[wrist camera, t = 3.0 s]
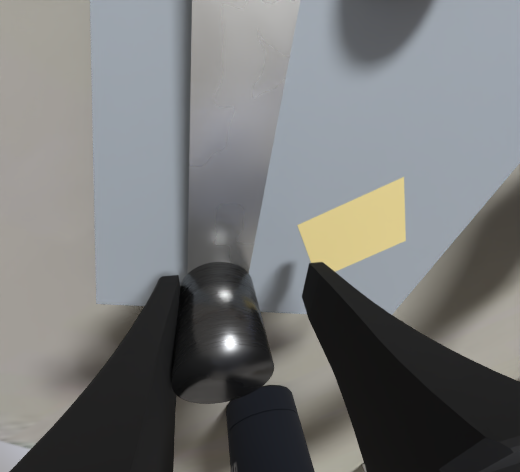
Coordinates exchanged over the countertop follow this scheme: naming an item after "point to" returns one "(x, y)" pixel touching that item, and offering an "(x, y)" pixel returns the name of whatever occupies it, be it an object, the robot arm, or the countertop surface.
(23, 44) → the countertop surface
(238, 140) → the lever
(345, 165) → the base
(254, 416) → the black water bottle
